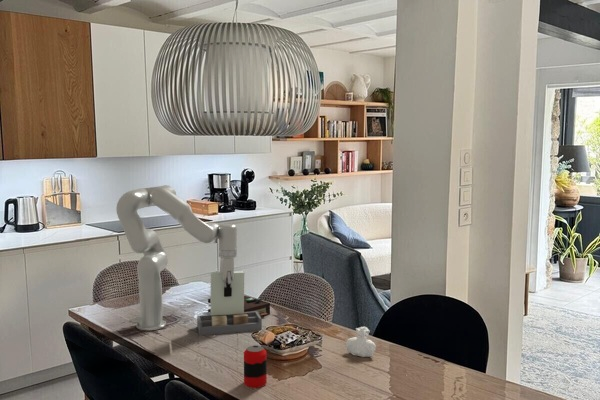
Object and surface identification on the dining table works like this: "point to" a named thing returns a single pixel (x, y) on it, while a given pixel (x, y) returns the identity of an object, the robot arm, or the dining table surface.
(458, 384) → the dining table surface
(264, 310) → the decorative book
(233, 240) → the robot arm
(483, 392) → the dining table surface
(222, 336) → the dining table surface
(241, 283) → the sage board
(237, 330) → the rack
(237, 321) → the tan wooden block
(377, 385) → the dining table surface
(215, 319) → the birch offcut
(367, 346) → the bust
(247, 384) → the soda can
